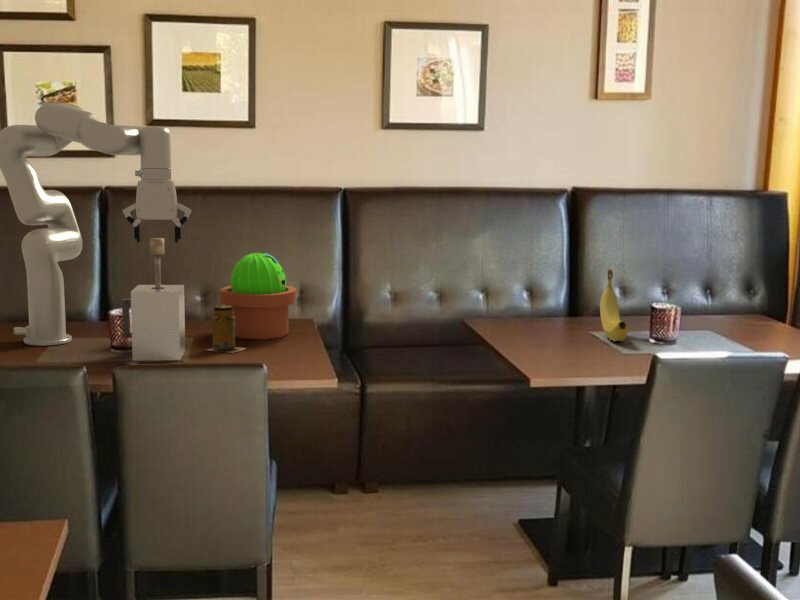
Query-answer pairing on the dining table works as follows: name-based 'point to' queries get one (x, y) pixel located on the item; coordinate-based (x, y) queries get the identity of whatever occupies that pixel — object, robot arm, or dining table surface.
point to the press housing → (155, 322)
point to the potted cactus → (259, 297)
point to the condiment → (224, 329)
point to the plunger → (157, 258)
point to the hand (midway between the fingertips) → (158, 241)
